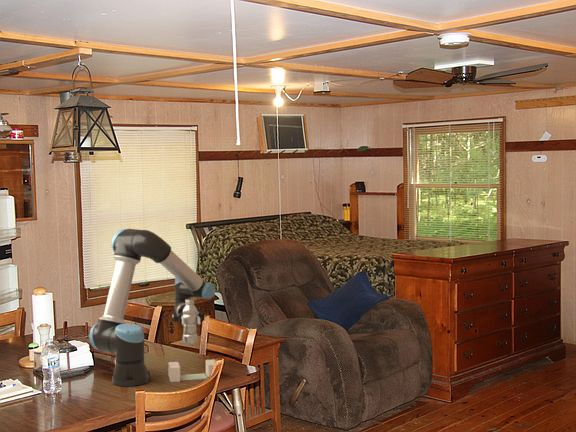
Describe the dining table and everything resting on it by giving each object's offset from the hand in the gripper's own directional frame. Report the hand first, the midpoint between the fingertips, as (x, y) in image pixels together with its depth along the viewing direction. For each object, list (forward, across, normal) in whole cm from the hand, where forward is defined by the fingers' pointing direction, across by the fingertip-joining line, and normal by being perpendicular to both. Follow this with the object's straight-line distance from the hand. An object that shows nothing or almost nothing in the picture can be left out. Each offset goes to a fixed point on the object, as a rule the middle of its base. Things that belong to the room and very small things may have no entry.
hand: (191, 321), depth 333 cm
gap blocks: (+6, 0, -23) cm, 24 cm away
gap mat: (+6, 0, -23) cm, 24 cm away
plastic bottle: (-5, 0, -11) cm, 12 cm away
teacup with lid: (-23, +63, -23) cm, 71 cm away
